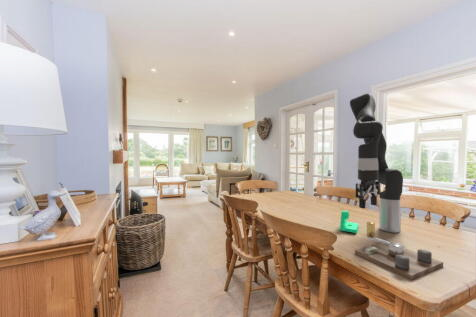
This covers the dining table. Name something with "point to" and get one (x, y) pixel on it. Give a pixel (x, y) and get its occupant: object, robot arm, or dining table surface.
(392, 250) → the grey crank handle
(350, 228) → the camera mount
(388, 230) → the robot arm
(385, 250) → the base
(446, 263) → the dining table surface
